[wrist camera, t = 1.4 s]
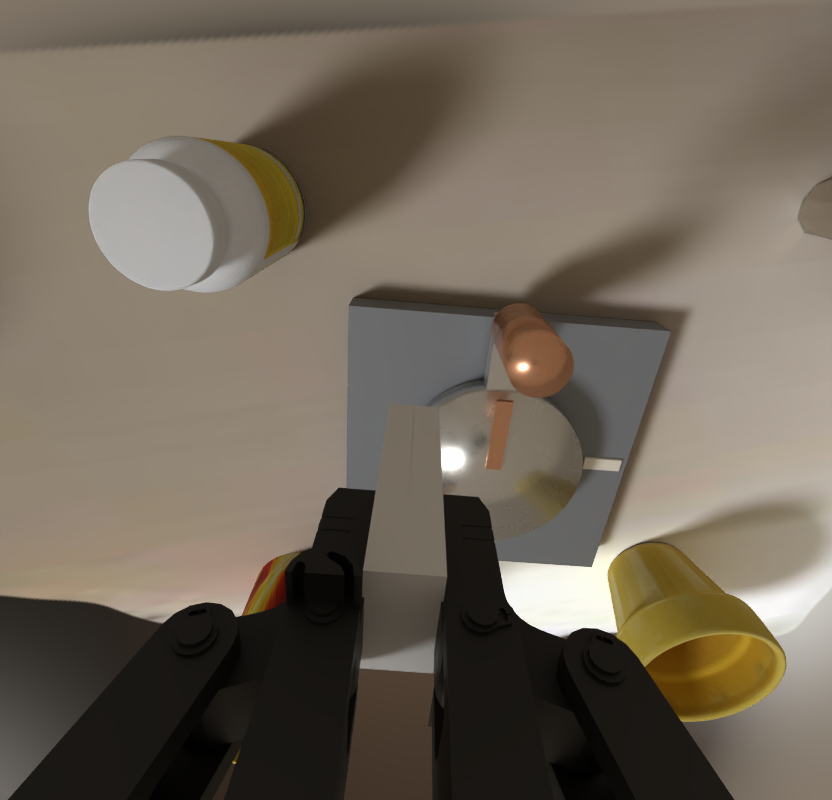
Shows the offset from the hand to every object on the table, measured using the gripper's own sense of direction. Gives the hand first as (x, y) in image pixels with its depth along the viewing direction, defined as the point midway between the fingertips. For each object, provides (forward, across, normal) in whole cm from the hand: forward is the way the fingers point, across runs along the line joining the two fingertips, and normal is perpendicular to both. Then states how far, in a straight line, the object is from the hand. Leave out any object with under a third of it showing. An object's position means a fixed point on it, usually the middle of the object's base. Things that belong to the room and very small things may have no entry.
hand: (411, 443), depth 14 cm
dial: (+15, +6, -7) cm, 18 cm away
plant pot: (+18, +22, -22) cm, 36 cm away
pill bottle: (+18, -10, +5) cm, 21 cm away
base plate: (+17, +6, -10) cm, 21 cm away
